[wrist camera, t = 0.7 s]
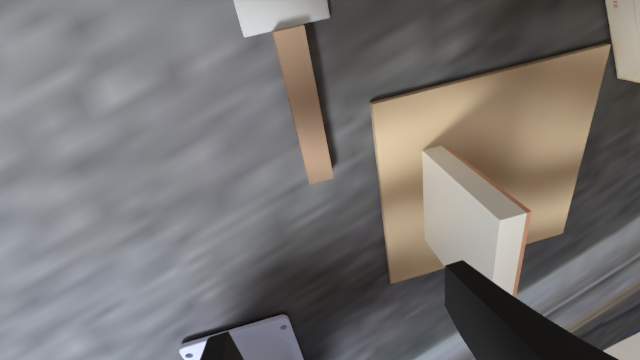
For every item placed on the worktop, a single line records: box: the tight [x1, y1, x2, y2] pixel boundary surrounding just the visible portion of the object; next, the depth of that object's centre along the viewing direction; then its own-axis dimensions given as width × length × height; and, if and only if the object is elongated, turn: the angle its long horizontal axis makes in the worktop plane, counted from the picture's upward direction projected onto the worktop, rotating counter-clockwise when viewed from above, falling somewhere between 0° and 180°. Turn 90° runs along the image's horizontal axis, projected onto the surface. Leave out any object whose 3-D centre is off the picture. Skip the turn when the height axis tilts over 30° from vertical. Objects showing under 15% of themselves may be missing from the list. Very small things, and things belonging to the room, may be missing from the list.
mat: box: [370, 43, 611, 284], centre depth 22 cm, size 14×14×1 cm
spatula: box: [233, 0, 334, 184], centre depth 16 cm, size 13×4×1 cm, turn 11°
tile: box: [422, 145, 532, 298], centre depth 19 cm, size 7×2×7 cm, turn 11°
